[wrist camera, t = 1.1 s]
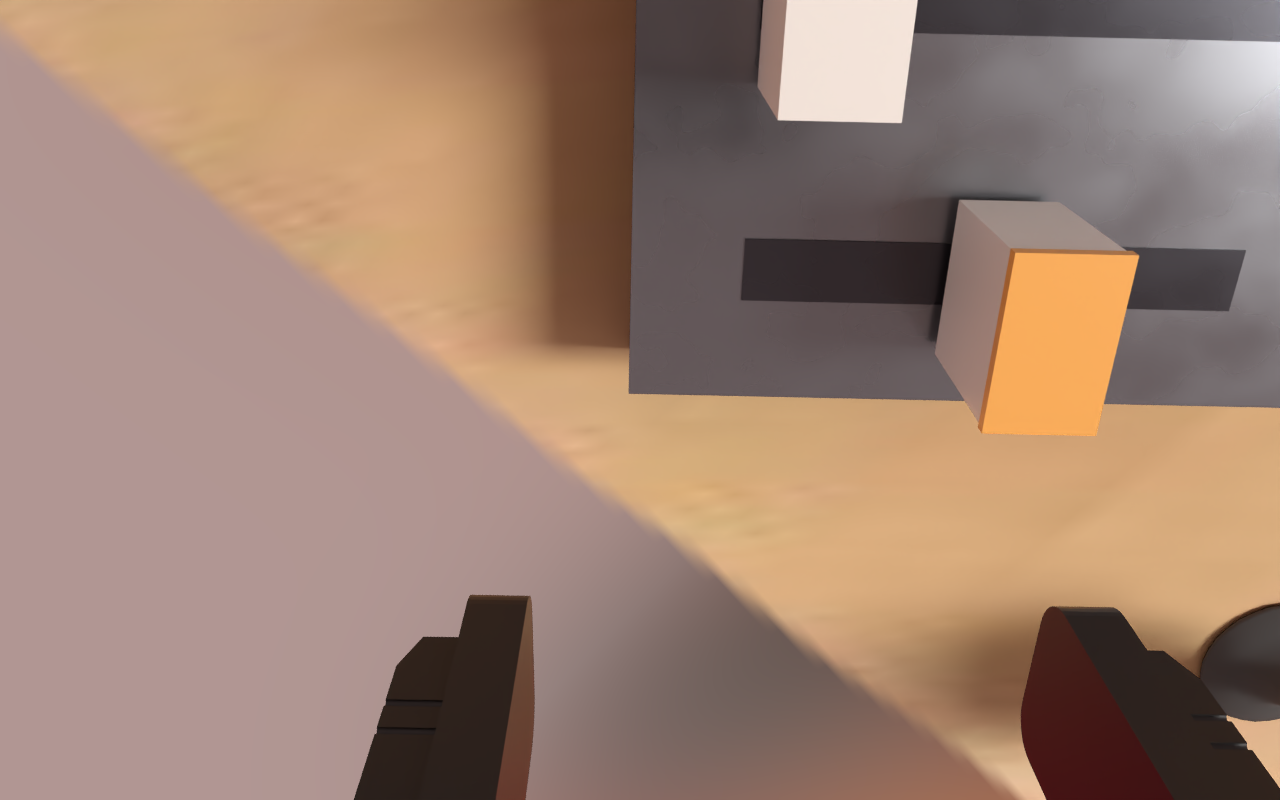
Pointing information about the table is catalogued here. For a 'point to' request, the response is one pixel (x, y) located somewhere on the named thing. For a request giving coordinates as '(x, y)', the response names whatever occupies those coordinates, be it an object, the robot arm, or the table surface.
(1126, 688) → the robot arm
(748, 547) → the table surface
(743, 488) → the table surface
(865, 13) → the handle
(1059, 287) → the block
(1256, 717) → the sundae
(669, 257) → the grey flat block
